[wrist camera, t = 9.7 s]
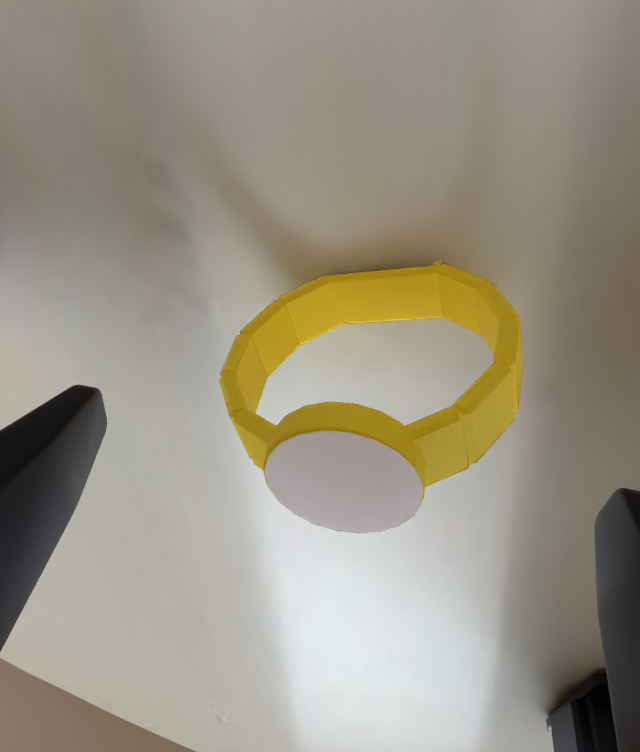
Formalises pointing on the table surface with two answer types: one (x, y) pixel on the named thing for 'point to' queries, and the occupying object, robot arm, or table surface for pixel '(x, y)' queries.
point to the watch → (363, 424)
